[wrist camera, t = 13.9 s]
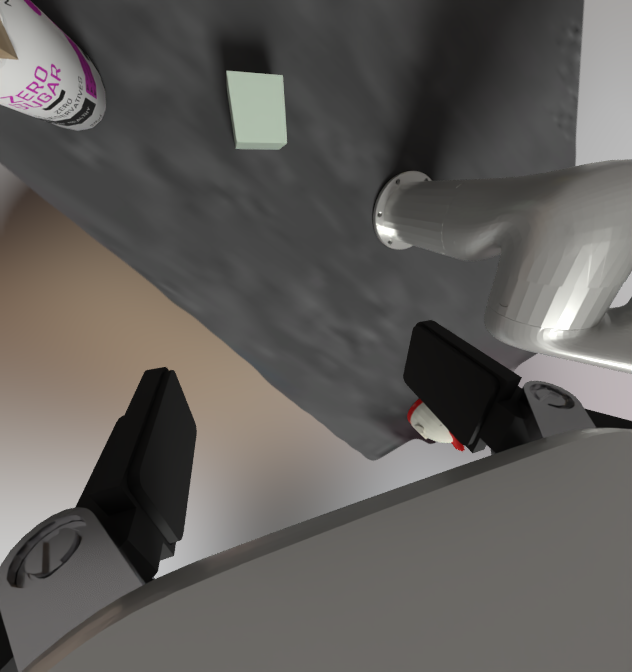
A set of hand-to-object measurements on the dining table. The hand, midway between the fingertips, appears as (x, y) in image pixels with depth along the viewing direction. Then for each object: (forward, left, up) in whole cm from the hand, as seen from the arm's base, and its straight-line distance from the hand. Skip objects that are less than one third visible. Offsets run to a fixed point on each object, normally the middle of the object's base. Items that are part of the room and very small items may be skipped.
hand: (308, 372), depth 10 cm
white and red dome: (-47, +55, -37) cm, 81 cm away
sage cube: (-3, -14, -36) cm, 39 cm away
